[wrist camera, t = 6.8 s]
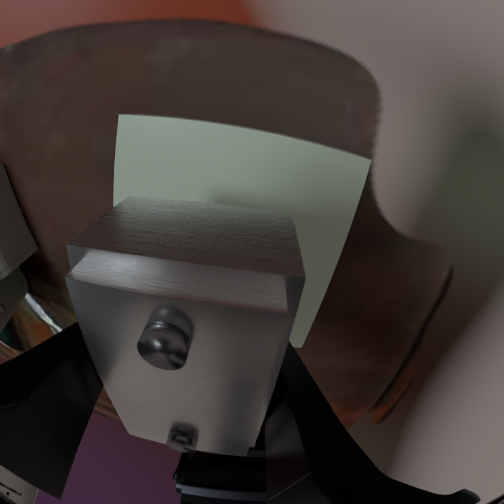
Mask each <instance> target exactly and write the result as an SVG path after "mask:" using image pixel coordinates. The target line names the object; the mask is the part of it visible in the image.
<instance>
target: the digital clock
mask: <svg viewBox="0 0 504 504" xmlns="http://www.w3.org/2000/svg"><path fill="white" fill-rule="evenodd" d="M37 250H38V247H37V245H36V243H35V241H34V239H33V237H32V235H31V232H30V230H29V228H28V226H27V224H26V222H25V219H24V217H23V215H22V212H21V210H20V208H19V205H18V203H17V200H16V198H15V195H14V193H13V190H12V187H11V185H10V182H9V179H8V176H7V173H6V170H5V167H4V164H0V333H1V331H2V330H3V328H4V327H5V325H6V323H7V322H8V320H9V319H10V317H11V316H12V314H13V313H14V311H15V310H16V309H17V307H18V306H19V304H20V303H21V301H22V300H23V299H24V297H25V296H26V294H27V290H28V283H27V281H26V279H25V277H24V275H23V273H22V271H21V269H20V268H19V265H20V264H22V263H23V262H24V261H25V260H26V259H27V258H29V257H30V256H31V255H32V254H33V253H34V252H36V251H37Z"/></svg>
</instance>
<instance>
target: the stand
mask: <svg viewBox="0 0 504 504" xmlns="http://www.w3.org/2000/svg"><path fill="white" fill-rule="evenodd" d="M370 164H371V160H369V159H368V158H366V157H364V156H361V155H358V154H354V153H351V152H348V151H345V150H341V149H338V148H334V147H331V146H327V145H324V144H320V143H316V142H313V141H309V140H305V139H301V138H297V137H292V136H288V135H284V134H279V133H275V132H270V131H265V130H260V129H255V128H250V127H244V126H239V125H233V124H227V123H220V122H213V121H206V120H199V119H191V118H182V117H172V116H160V115H147V114H119V120H118V129H117V139H116V152H115V168H114V206H116V205H117V204H119V203H120V202H121V201H123V200H124V199H126V198H127V197H128V196H139V197H151V198H163V199H174V200H185V201H195V202H204V203H214V204H223V205H231V206H240V207H248V208H256V209H264V210H271V211H279V212H286V213H292V216H293V220H294V224H295V229H296V233H297V237H298V242H299V246H300V251H301V256H302V260H303V265H304V270H305V275H306V280H305V284H304V287H303V291H302V295H301V299H300V303H299V306H298V310H297V314H296V317H295V321H294V324H293V328H292V331H291V335H290V338H289V341H290V343H291V344H292V346H293V347H298V348H302V345H303V343H304V341H305V339H306V337H307V335H308V332H309V330H310V328H311V326H312V323H313V321H314V319H315V317H316V314H317V312H318V310H319V307H320V305H321V302H322V300H323V298H324V295H325V293H326V290H327V288H328V285H329V283H330V280H331V278H332V275H333V273H334V270H335V268H336V265H337V262H338V260H339V257H340V255H341V252H342V249H343V246H344V244H345V241H346V238H347V235H348V233H349V230H350V227H351V224H352V221H353V218H354V215H355V212H356V209H357V206H358V203H359V200H360V197H361V194H362V191H363V187H364V184H365V181H366V178H367V174H368V171H369V167H370Z"/></svg>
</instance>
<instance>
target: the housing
mask: <svg viewBox="0 0 504 504" xmlns="http://www.w3.org/2000/svg"><path fill="white" fill-rule="evenodd" d="M66 247H67V252H68V257H69V262H70V266H71V271H70V272H69V273H68V274H67V275H66V276H65V280H66V283H67V287H68V291H69V294H70V298H71V301H72V304H73V308H74V311H75V314H76V317H77V320H78V323H79V326H80V329H81V331H82V334H83V337H84V340H85V342H86V345H87V348H88V350H89V353H90V355H91V358H92V360H93V362H94V365H95V367H96V369H97V372H98V374H99V376H100V378H101V381H102V383H103V385H104V387H105V389H106V391H107V393H108V395H109V397H110V399H111V401H112V403H113V405H114V407H115V409H116V411H117V413H118V415H119V417H120V418H121V420H122V422H123V424H124V426H125V427H126V429H127V431H128V432H129V434H131V435H134V436H137V437H141V438H145V439H149V440H152V441H156V442H160V443H164V444H167V445H168V446H169V447H170V448H172V449H174V450H177V451H181V452H186V453H193V452H195V451H196V450H199V451H205V452H211V453H219V454H226V455H235V456H246V455H247V452H248V449H249V447H254V445H255V442H256V440H257V437H258V434H259V431H260V428H261V426H262V423H263V420H264V417H265V414H266V411H267V408H268V405H269V402H270V399H271V396H272V393H273V390H274V387H275V384H276V381H277V378H278V375H279V371H280V368H281V365H282V362H283V358H284V355H285V352H286V349H287V345H288V342H289V338H290V335H291V331H292V328H293V324H294V321H295V317H296V314H297V310H298V306H299V303H300V299H301V295H302V291H303V287H304V284H305V280H306V275H305V270H304V265H303V260H302V256H301V251H300V246H299V242H298V237H297V233H296V229H295V224H294V220H293V216H292V213H286V212H279V211H271V210H264V209H256V208H248V207H240V206H231V205H223V204H214V203H204V202H195V201H185V200H174V199H163V198H151V197H139V196H128V197H127V198H126V199H124V200H123V201H121V202H120V203H119V204H117V205H116V206H114V207H113V208H112V209H110V210H109V211H108V212H106V213H105V214H104V215H102V216H101V217H100V218H98V219H97V220H96V221H94V222H93V223H92V224H91V225H89V226H88V227H87V228H85V229H84V230H83V231H82V232H80V233H79V234H78V235H77V236H75V237H74V238H73V239H72V240H71V241H69V242H68V243H67V244H66Z"/></svg>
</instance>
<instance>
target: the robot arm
mask: <svg viewBox="0 0 504 504" xmlns="http://www.w3.org/2000/svg"><path fill="white" fill-rule="evenodd" d="M103 386H104V385H103V383H102V381H101V378H100V376H99V374H98V372H97V369H96V367H95V365H94V362H93V360H92V358H91V355H90V353H89V350H88V348H87V345H86V342H85V340H84V337H83V334H82V331H81V329H80V326H79V323H78V322H76V323H74V324H73V325H71V326H69V327H67V328H66V329H64V330H62V331H61V332H59V333H57V334H56V335H54V336H52V337H50V338H49V339H47V340H45V341H44V342H42V343H41V344H38V345H37V346H35V347H33V348H32V349H30V350H28V351H26V352H25V353H23V354H21V355H19V356H17V357H15V358H13V359H11V360H9V361H7V362H5V363H3V364H1V365H0V504H34V502H35V499H36V496H37V493H38V490H39V489H40V490H42V491H44V492H45V493H47V494H49V495H51V496H53V497H55V498H57V499H59V500H60V499H61V497H62V494H63V491H64V488H65V485H66V481H67V478H68V475H69V472H70V470H71V467H72V464H73V461H74V458H75V454H76V452H77V449H78V447H79V444H80V441H81V439H82V436H83V434H84V431H85V428H86V426H87V424H88V421H89V419H90V416H91V414H92V411H93V409H94V407H95V404H96V402H97V400H98V397H99V395H100V393H101V390H102V388H103ZM333 412H334V411H333V409H332V408H331V406H330V405H329V403H328V402H327V400H326V398H325V397H324V395H323V394H322V392H321V391H320V389H319V387H318V386H317V384H316V383H315V381H314V379H313V378H312V376H311V375H310V373H309V372H308V370H307V368H306V367H305V365H304V364H303V362H302V360H301V359H300V357H299V356H298V354H297V352H296V351H295V349H294V348H293V346H292V344H291V343H290V341H289V342H288V345H287V349H286V352H285V355H284V358H283V362H282V365H281V368H280V371H279V375H278V378H277V381H276V384H275V387H274V390H273V393H272V396H271V399H270V402H269V405H268V408H267V411H266V414H265V417H264V420H263V423H262V426H261V428H260V431H259V434H258V437H257V440H256V442H255V445H254V447H249V449H248V452H247V455H246V456H235V455H226V454H219V453H211V452H205V451H199V450H196V451H195V452H193V453H186V452H182V455H181V458H180V461H179V464H178V467H177V469H176V470H175V472H174V474H173V480H174V481H175V482H176V490H177V493H178V495H181V504H476V503H478V502H479V501H480V500H481V499H480V498H479V496H478V495H477V494H475V493H474V492H471V491H469V490H467V489H462V490H460V491H457V492H455V493H453V494H449V495H440V494H435V493H432V492H428V491H425V490H422V489H419V488H416V487H413V486H410V485H408V484H405V483H402V482H399V481H397V480H394V479H392V478H390V477H388V476H386V475H385V474H384V473H383V472H381V471H380V470H379V469H378V468H377V467H376V466H375V464H374V463H373V462H372V461H371V460H370V459H369V457H368V456H367V455H366V454H365V453H364V452H363V450H362V449H361V448H360V447H359V446H358V444H357V443H356V442H355V441H354V440H353V438H352V437H351V436H350V434H349V433H348V432H347V430H346V429H345V427H344V426H343V425H342V423H341V422H340V420H339V419H338V417H337V415H336V414H335V413H333ZM265 443H266V445H265ZM487 504H504V494H503V495H501V496H499V497H497V498H496V499H494V500H492V501H490V502H488V503H487Z"/></svg>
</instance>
